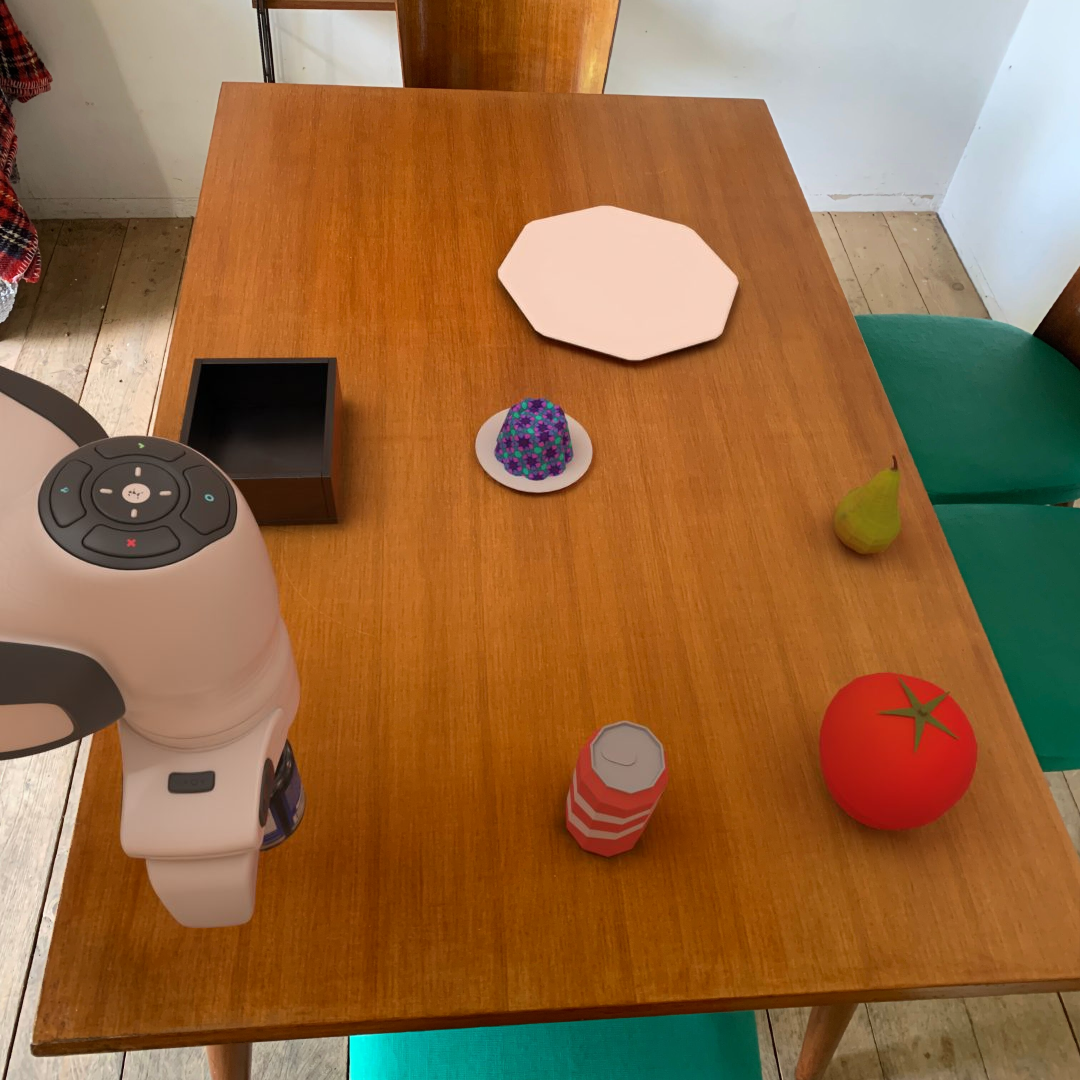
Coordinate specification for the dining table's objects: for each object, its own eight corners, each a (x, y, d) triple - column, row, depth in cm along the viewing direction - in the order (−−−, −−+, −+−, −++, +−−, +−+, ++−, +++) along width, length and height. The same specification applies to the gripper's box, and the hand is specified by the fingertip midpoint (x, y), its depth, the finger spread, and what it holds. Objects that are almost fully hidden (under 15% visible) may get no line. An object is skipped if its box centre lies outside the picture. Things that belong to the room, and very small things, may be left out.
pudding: (508, 395, 99) (510, 358, 95) (609, 436, 96) (617, 400, 92) (453, 468, 92) (453, 432, 88) (561, 514, 90) (566, 479, 85)
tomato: (950, 850, 72) (1031, 787, 62) (817, 857, 71) (879, 795, 61) (904, 718, 79) (971, 643, 69) (783, 723, 78) (833, 647, 68)
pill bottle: (262, 751, 65) (236, 676, 57) (325, 802, 64) (309, 732, 55) (194, 819, 62) (156, 750, 53) (260, 874, 60) (231, 812, 52)
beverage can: (575, 771, 74) (593, 703, 64) (651, 795, 73) (682, 730, 64) (554, 842, 70) (570, 782, 61) (634, 869, 70) (664, 812, 60)
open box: (189, 527, 85) (171, 480, 80) (208, 407, 94) (194, 357, 89) (338, 523, 87) (330, 476, 81) (343, 406, 96) (336, 356, 91)
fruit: (897, 563, 89) (950, 483, 80) (837, 568, 88) (884, 488, 79) (872, 511, 93) (920, 429, 83) (815, 516, 92) (857, 434, 82)
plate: (703, 390, 102) (706, 380, 100) (470, 323, 105) (471, 313, 104) (749, 252, 118) (752, 242, 117) (546, 198, 122) (547, 188, 120)
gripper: (179, 530, 54) (221, 649, 65) (111, 882, 42) (177, 956, 53) (288, 529, 55) (311, 646, 66) (253, 875, 43) (289, 949, 54)
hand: (251, 787), depth 59 cm, fingers closed on pill bottle, 6 cm apart
